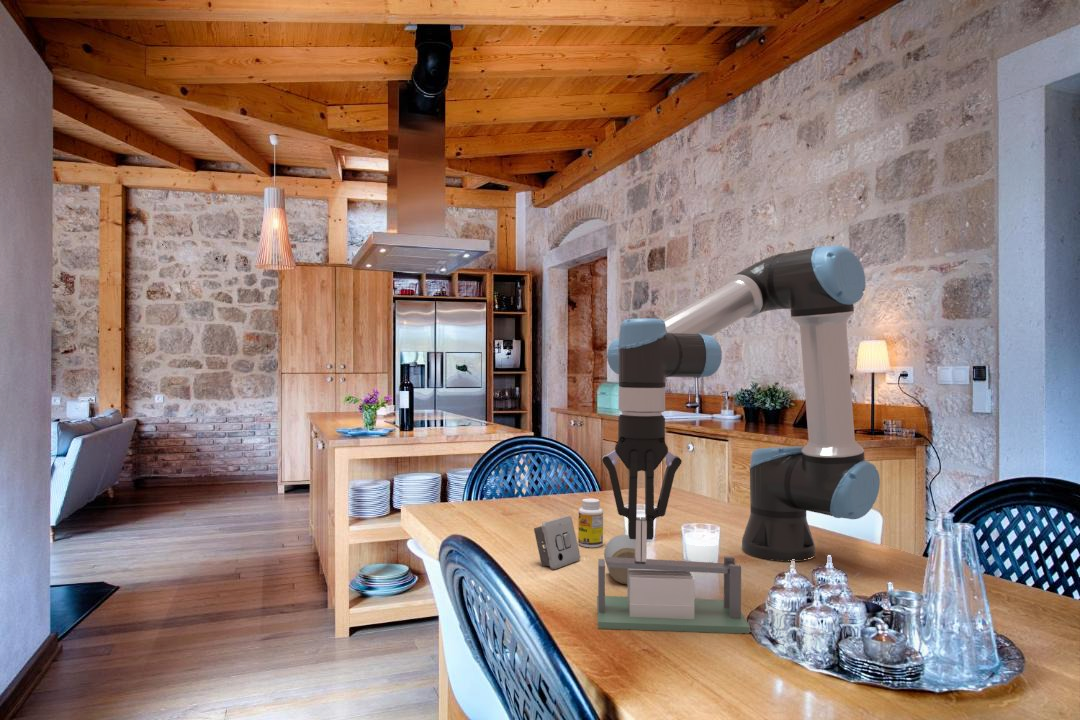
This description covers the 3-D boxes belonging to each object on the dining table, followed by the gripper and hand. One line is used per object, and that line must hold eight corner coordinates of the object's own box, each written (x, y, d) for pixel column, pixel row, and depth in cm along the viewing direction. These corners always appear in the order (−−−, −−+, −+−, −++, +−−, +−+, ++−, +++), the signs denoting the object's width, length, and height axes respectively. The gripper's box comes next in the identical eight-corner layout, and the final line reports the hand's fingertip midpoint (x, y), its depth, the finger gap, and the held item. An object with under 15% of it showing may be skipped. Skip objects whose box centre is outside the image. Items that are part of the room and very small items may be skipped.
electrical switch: (554, 571, 133) (550, 523, 133) (533, 568, 136) (530, 522, 137) (581, 561, 140) (578, 515, 141) (561, 558, 143) (558, 514, 144)
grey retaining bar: (735, 571, 109) (735, 561, 109) (739, 576, 106) (739, 566, 106) (606, 564, 111) (607, 554, 111) (607, 569, 108) (607, 559, 108)
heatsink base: (733, 605, 114) (733, 551, 114) (750, 633, 102) (750, 572, 102) (597, 601, 115) (597, 547, 115) (598, 628, 103) (598, 568, 104)
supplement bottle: (574, 543, 154) (574, 498, 154) (595, 541, 156) (596, 496, 156) (585, 549, 149) (585, 503, 149) (607, 546, 151) (607, 501, 151)
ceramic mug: (608, 586, 124) (609, 544, 124) (603, 572, 132) (604, 533, 132) (665, 587, 124) (666, 546, 124) (657, 574, 132) (658, 534, 132)
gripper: (679, 412, 113) (678, 554, 112) (600, 411, 114) (599, 551, 113) (686, 415, 105) (685, 567, 105) (601, 414, 106) (600, 564, 106)
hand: (640, 559), depth 109 cm, fingers closed
